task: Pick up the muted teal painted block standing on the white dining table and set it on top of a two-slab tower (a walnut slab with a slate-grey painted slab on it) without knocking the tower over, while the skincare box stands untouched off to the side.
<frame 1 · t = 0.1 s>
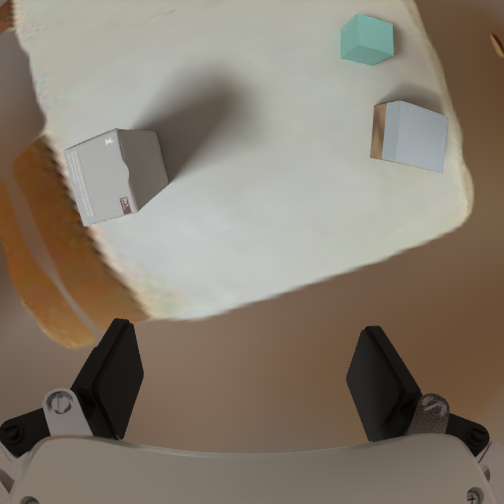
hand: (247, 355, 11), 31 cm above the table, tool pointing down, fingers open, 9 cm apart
block: (356, 47, 32), on the table
tower base: (394, 136, 37), on the table, touching tower top
skincare box: (146, 164, 38), on the table
tower top: (408, 137, 34), point 4 cm above the table, touching tower base
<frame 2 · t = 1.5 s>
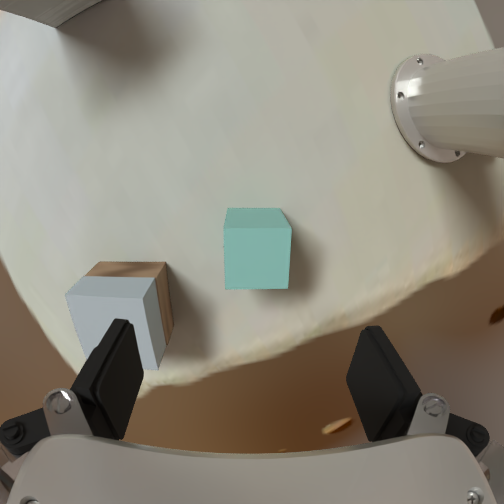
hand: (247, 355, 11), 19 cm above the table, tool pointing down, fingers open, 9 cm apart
block: (253, 232, 29), on the table
tower base: (136, 293, 31), on the table, touching tower top
tower top: (124, 312, 27), point 4 cm above the table, touching tower base
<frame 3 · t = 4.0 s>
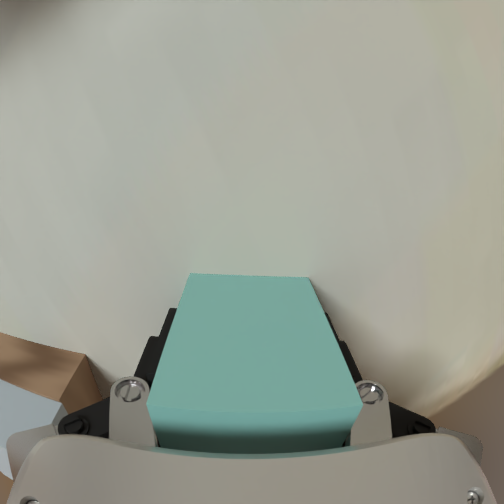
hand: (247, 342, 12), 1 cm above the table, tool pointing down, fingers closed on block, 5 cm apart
block: (246, 324, 13), on the table, touching gripper
tower base: (56, 384, 15), on the table, touching tower top
tower top: (36, 426, 11), point 4 cm above the table, touching tower base
when the fingers open (11 cm above the table, at t = 8.5 s): block drops 2 cm, point 8 cm above the table.
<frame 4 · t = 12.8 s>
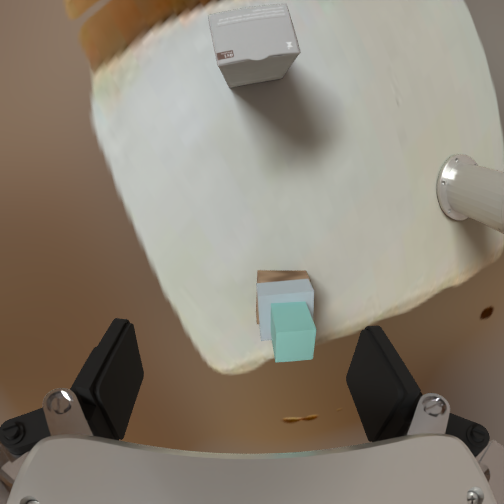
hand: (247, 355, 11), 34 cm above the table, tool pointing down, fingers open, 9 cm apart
block: (287, 317, 42), point 8 cm above the table
tower base: (280, 291, 49), on the table, touching tower top
skincare box: (250, 67, 36), on the table
tower top: (283, 303, 46), point 4 cm above the table, touching tower base
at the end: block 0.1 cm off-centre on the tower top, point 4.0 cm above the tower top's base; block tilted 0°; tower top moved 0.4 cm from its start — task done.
